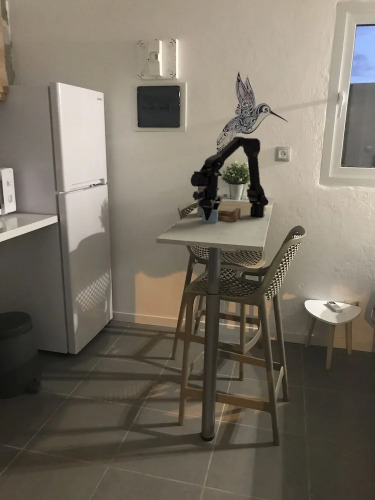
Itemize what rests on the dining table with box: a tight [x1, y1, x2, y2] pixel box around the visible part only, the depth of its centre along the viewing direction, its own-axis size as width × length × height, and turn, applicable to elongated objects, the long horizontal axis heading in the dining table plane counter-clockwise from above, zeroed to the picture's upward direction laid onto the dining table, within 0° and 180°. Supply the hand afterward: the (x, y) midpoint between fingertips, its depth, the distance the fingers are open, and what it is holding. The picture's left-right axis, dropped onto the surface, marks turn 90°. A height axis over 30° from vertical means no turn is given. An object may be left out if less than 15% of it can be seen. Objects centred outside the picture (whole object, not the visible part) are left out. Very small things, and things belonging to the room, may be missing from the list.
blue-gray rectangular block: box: [201, 209, 219, 224], centre depth 189 cm, size 7×2×6 cm, turn 70°
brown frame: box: [217, 207, 242, 223], centre depth 198 cm, size 14×10×5 cm
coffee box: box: [196, 186, 205, 217], centre depth 205 cm, size 9×6×16 cm
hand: (209, 218), depth 189 cm, fingers open, 8 cm apart
